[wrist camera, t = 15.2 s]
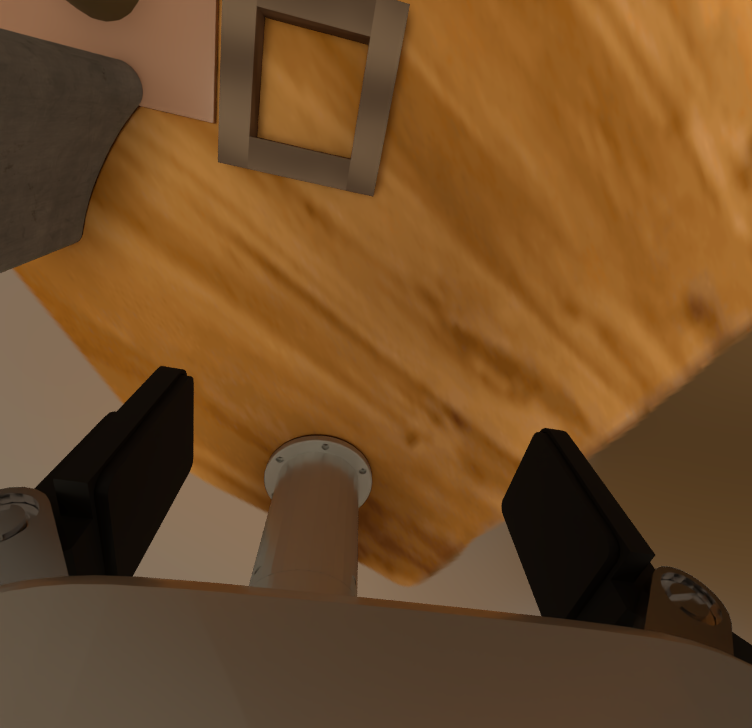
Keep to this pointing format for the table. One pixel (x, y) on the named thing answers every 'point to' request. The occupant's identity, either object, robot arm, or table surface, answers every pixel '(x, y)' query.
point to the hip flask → (54, 139)
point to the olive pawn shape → (105, 8)
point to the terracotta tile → (139, 45)
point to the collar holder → (243, 79)
